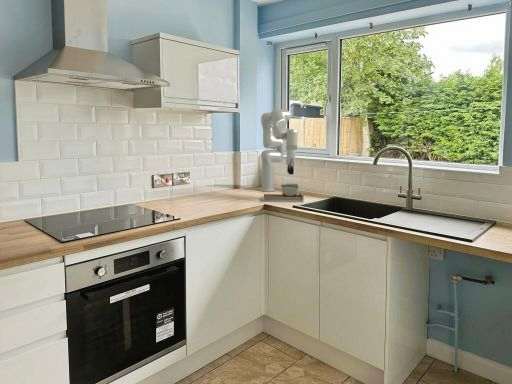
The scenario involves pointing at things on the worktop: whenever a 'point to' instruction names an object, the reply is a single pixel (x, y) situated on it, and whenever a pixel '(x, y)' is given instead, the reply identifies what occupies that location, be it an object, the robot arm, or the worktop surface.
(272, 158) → the robot arm
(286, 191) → the food container
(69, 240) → the worktop surface
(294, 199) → the keyway board
